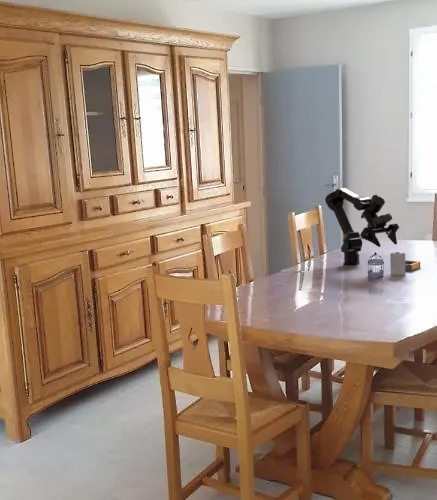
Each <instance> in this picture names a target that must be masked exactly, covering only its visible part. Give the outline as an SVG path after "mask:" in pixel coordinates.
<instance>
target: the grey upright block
mask: <svg viewBox="0 0 437 500" xmlns="http://www.w3.org/2000/svg"><path fill="white" fill-rule="evenodd" d="M389 254H390V255H389V257H390V258H389V259H390V260H389V261H390V263H389V264H390V275H391V276H392V277H400V276H401V277H402V276H405V275H406V271H405V260H406V252H401V251H396V252H390V253H389Z"/></svg>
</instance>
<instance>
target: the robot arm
mask: <svg viewBox="0 0 437 500" xmlns="http://www.w3.org/2000/svg"><path fill="white" fill-rule="evenodd" d="M324 200H325V204H326V205H327V207H328V208H329V209H330V210H331V211H332V212H333V213H334V216H335V218H336V220H337V222H338V225H339V227H340V229H341V232H342V234H343V238H342V239H343V240H342V242H343V244H342V245H341V246H340V250H341V252H342V253H343V254H344V255H343V256H344V257H343V259H344V260H343V261H344V262H343V263H342V265H348V266H349V265H350V266H351V265H352V266H356V265H358V264H360V263H361V262H360V254H359V252H361V251H362V247H363V241H362V240H364V241H368V242H369V243H372V244H374V245H375V246H377V247H378V248H381V246H382V245H381V243H380V241H379V239H378V238H377V235H376V234H383V233H385V235H387V238H388V239H389V240H390V241H391V242H392V243H393V244H394V245H398V240H397V232H398V230H399V229H400V226H399V224H398V223H390V224H387V223H389V222H391V221H392V220H393V217H392V215H391V213H386V214H382V215H379V216H378V214H379V212H381V211H382V210H381V209H382V208H383V206H385V203H386V202H385V201H386V200H385V199H384V198H383V197H381V196H378V194H372V196H371V197H368V196H367V197H366V196H361V195H359V194H356V193H354V192H352V191H351V190H350V189H348V188H347V187H340V188H336V190H334V191H332V192H330V193H328V194H327V195H326V197H325V199H324ZM344 200H346V201H347V202H348V203H350V204H352V205H353V207H354V208H355V209H356V210H357V211H358V212H359V211H363V212H361V216H360V219H365V220H366V222H367V225H366V227H364V228H363V229H362V231H361V232H359V231H354V230H353V227H352V224H351V223H350V221H349V218H348V216H347V214H346V211H345V210H344ZM387 225H388V226H387ZM386 226H387V227H386Z"/></svg>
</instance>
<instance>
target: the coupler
mask: <svg viewBox="0 0 437 500" xmlns="http://www.w3.org/2000/svg"><path fill="white" fill-rule="evenodd" d="M419 269H421V261H419V260H418V261H416V260H406V259H405V272H413V271H417V270H419Z"/></svg>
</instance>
